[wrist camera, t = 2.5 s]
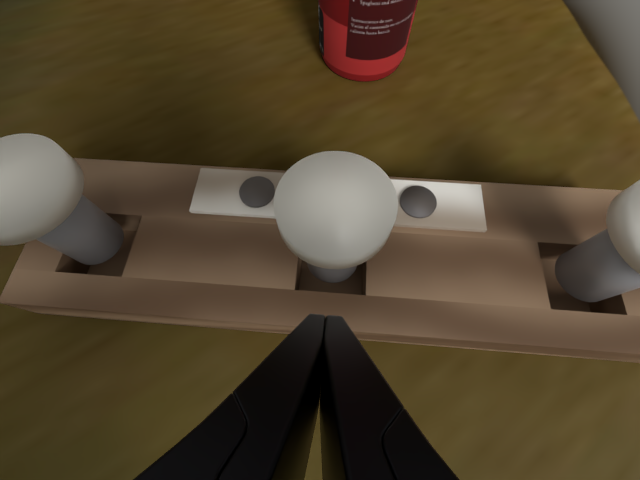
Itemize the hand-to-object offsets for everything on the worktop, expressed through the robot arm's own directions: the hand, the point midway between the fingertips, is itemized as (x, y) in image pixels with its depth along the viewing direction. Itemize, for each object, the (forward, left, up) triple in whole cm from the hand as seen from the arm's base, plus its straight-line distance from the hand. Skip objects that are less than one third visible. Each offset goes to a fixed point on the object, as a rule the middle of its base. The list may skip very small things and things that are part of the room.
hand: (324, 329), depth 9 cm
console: (+5, +3, -13) cm, 14 cm away
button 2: (-2, +15, -9) cm, 18 cm away
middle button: (+5, +3, -9) cm, 11 cm away
